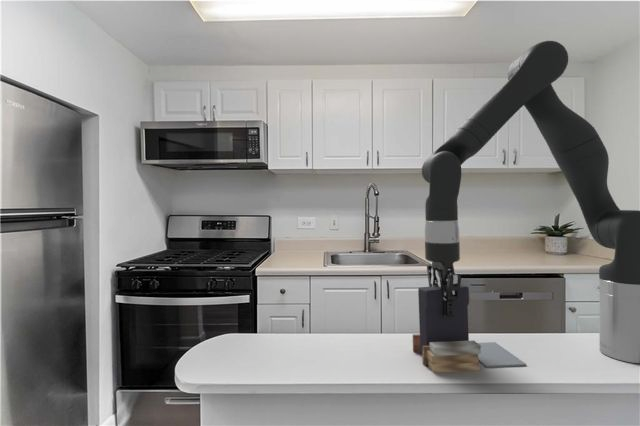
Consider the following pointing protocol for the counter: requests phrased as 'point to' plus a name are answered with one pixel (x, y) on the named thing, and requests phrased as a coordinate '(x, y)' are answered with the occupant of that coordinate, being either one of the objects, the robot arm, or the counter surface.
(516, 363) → the slate mat
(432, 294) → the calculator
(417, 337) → the rack
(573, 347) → the counter surface
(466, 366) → the offcut stack
